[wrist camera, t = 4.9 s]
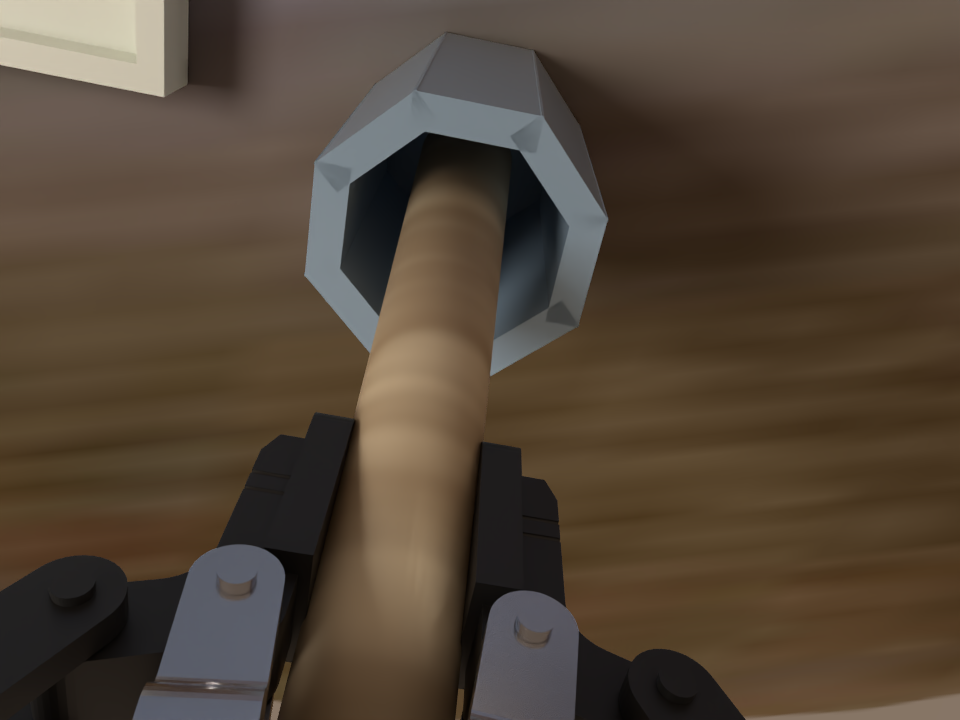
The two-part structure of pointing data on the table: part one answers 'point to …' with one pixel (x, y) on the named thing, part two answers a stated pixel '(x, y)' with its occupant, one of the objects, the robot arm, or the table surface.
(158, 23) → the tray
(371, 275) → the cup
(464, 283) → the pin
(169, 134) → the table surface
